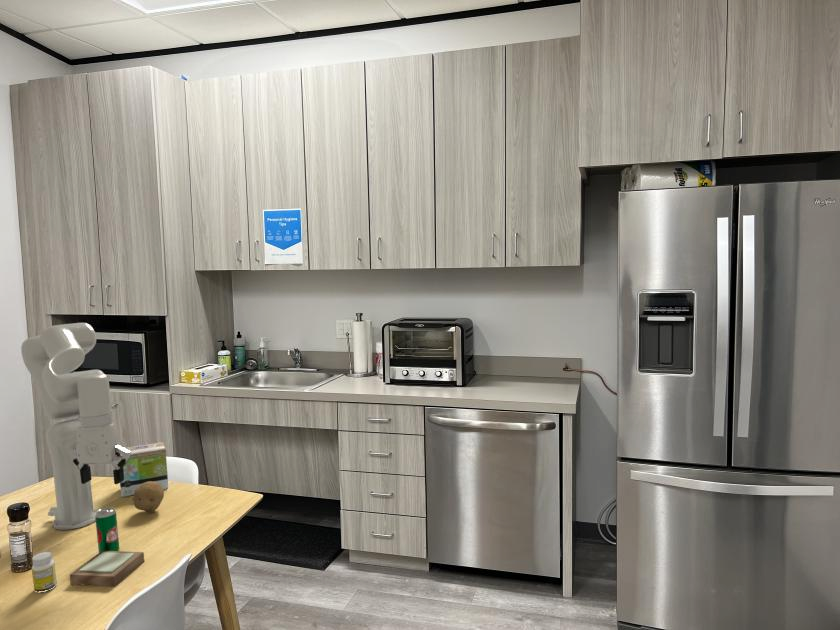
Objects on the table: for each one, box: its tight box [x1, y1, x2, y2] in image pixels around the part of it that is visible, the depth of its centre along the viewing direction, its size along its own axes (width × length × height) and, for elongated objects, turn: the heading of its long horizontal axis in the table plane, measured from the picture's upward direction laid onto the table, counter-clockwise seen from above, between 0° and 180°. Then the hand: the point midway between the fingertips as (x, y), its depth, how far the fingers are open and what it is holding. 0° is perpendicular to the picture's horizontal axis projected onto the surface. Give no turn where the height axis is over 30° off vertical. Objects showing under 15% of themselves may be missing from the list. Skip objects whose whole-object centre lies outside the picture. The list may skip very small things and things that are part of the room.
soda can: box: [95, 506, 120, 553], centre depth 163 cm, size 5×5×12 cm
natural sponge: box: [132, 481, 165, 514], centre depth 188 cm, size 9×9×10 cm
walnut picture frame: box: [69, 550, 145, 588], centre depth 153 cm, size 12×12×3 cm
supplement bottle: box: [31, 551, 58, 592], centre depth 146 cm, size 5×5×8 cm
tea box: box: [119, 441, 169, 498], centre depth 209 cm, size 15×10×15 cm, turn 117°
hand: (102, 482), depth 161 cm, fingers open, 9 cm apart
